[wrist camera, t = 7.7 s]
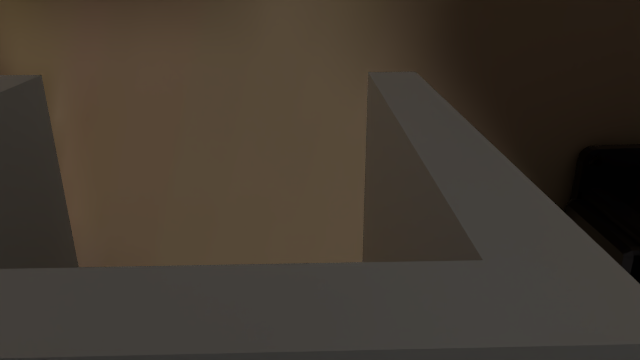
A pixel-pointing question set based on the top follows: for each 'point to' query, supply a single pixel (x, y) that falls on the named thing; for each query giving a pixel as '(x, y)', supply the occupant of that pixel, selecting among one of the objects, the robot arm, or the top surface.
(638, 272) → the robot arm
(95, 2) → the top surface
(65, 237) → the grey arch block
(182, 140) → the top surface
